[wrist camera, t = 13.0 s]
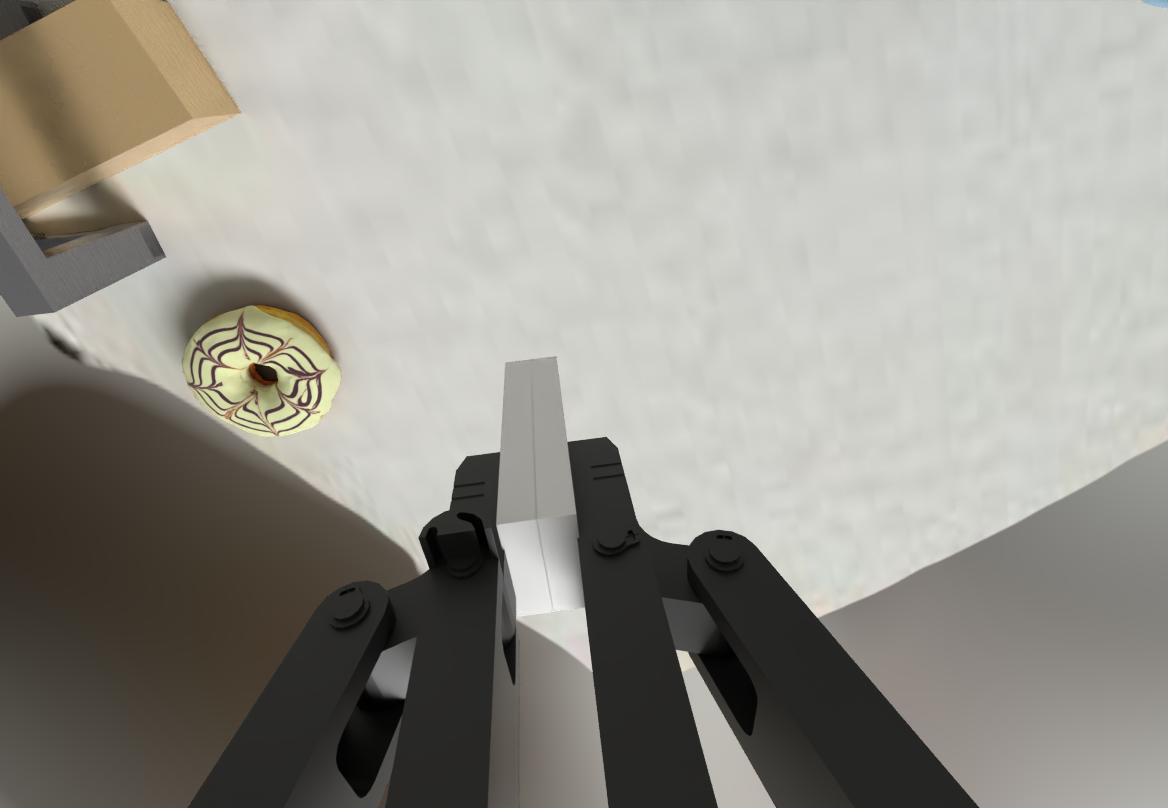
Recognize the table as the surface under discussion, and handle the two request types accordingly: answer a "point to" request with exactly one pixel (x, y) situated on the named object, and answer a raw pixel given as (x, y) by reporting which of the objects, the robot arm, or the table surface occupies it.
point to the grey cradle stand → (62, 239)
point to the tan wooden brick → (98, 97)
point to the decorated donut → (239, 392)
